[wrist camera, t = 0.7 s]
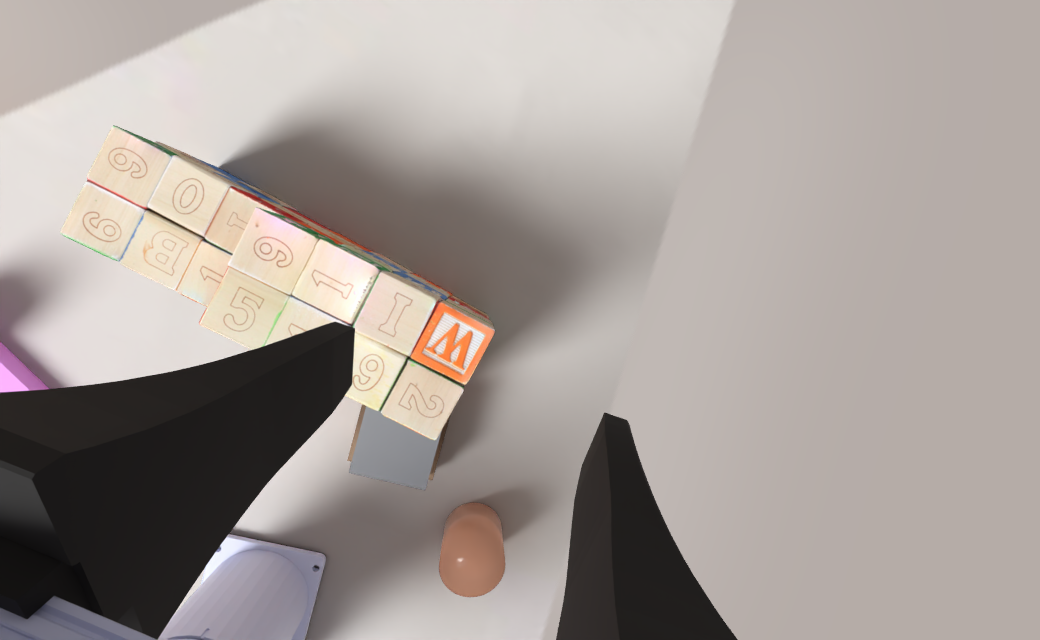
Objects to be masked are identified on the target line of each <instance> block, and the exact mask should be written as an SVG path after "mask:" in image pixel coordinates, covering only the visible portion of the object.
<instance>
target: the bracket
mask: <svg viewBox="0 0 1040 640" xmlns="http://www.w3.org/2000/svg"><path fill="white" fill-rule="evenodd" d="M46 389H49V388H48V387H47V386H46V385H45V384H44V383H43V382H42V381H41V380H40V379H39V378H38V377H37V376H36V375H35V374H33V373H32V372H31V371H30V370H29V369H28V368H27V367H26V366H25V365H24V364H23V363H22V362H21V361H20V360H19V359H18V358H17V357H16V356H15V355H14V354H13V353H12V352H11V351H10V350H8V349H7V348H6V347H5V346H4V345H3V344H2V343H1V342H0V392H14V391H30V390H46Z"/></svg>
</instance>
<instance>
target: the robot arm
mask: <svg viewBox="0 0 1040 640" xmlns="http://www.w3.org/2000/svg"><path fill="white" fill-rule="evenodd" d="M354 340H355V328H353V327H350V326H347V325H344V324H341V323H338V322H332V323H328V324H325V325H322V326H319V327H316V328H314V329H311V330H308V331H305V332H303V333H300V334H297V335H294V336H291V337H289V338H286V339H283V340H280V341H277V342H274V343H272V344H269V345H266V346H263V347H260V348H257V349H254V350H250V351H247V352H244V353H241V354H237V355H234V356H231V357H228V358H225V359H221V360H218V361H214V362H210V363H207V364H203V365H199V366H194V367H190V368H186V369H182V370H177V371H173V372H168V373H163V374H157V375H151V376H146V377H140V378H134V379H129V380H123V381H117V382H109V383H102V384H94V385H86V386H77V387H67V388H57V389H46V390H30V391H14V392H0V640H305V638H306V634H307V630H308V627H309V623H310V619H311V615H312V611H313V608H314V604H315V600H316V596H317V592H318V589H319V585H320V581H321V577H322V573H323V570H324V566H325V562H326V557H325V555H324V554H322V553H318V552H313V551H308V550H304V549H299V548H294V547H289V546H284V545H279V544H275V543H270V542H265V541H260V540H255V539H250V538H246V537H241V536H236V535H231V534H229V533H230V532H231V530H232V529H233V527H234V526H235V525H236V523H237V522H238V521H239V519H240V518H241V516H242V515H243V514H244V513H245V511H246V510H247V509H248V507H249V506H250V505H251V503H252V502H253V501H254V500H255V498H256V497H257V496H258V494H259V493H260V492H261V490H262V489H263V488H264V487H265V485H266V484H267V483H268V482H269V481H270V480H271V478H272V477H273V476H274V475H275V474H276V473H277V472H278V471H279V470H280V468H281V467H282V466H283V465H284V464H285V463H286V462H287V461H288V460H289V459H290V458H291V457H292V456H293V455H294V454H295V453H296V451H297V450H298V449H299V448H300V447H301V446H302V445H303V444H304V443H305V442H306V441H307V440H308V439H309V438H310V437H311V436H312V434H313V433H314V432H315V431H316V430H317V429H318V428H319V427H320V426H321V425H322V424H323V423H324V421H325V420H326V419H327V418H328V417H329V416H330V415H331V414H332V413H333V411H334V410H335V408H336V407H337V406H338V404H339V403H340V402H341V400H342V399H343V397H344V396H345V394H346V393H347V392H348V390H349V389H350V387H351V386H352V378H353V359H354ZM219 547H221V549H219ZM314 565H317V566H319V569H316V568H315V567H314ZM204 568H205V571H204V575H203V579H202V583H201V585H200V587H199V588H198V589H197V590H196V591H195V592H194V593H193V594H192V595H191V596H190V597H189V599H188V600H187V601H186V602H185V603H184V604H183V605H182V606H181V607H180V608H179V609H178V607H179V606H180V604H181V602H182V601H183V599H184V598H185V596H186V595H187V593H188V592H189V590H190V589H191V587H192V586H193V584H194V583H195V581H196V580H197V578H198V577H199V576H200V574H201V573H202V571H203V570H204ZM177 609H178V611H177V612H176V610H177ZM175 612H176V613H175ZM174 613H175V614H174ZM556 640H737V638H736V637H735V636H734V634H733V633H732V632H731V630H730V629H729V628H728V626H727V625H726V623H725V622H724V621H723V619H722V618H721V617H720V615H719V614H718V612H717V611H716V609H715V608H714V606H713V605H712V603H711V601H710V600H709V598H708V597H707V595H706V594H705V592H704V591H703V589H702V588H701V586H700V585H699V583H698V581H697V580H696V578H695V577H694V575H693V574H692V572H691V570H690V568H689V567H688V565H687V563H686V562H685V560H684V558H683V557H682V555H681V553H680V551H679V549H678V547H677V545H676V543H675V541H674V540H673V538H672V536H671V534H670V532H669V530H668V528H667V525H666V523H665V521H664V519H663V517H662V515H661V512H660V510H659V508H658V506H657V504H656V501H655V499H654V496H653V494H652V491H651V489H650V486H649V484H648V481H647V478H646V476H645V473H644V471H643V468H642V465H641V462H640V459H639V456H638V453H637V450H636V446H635V444H634V440H633V437H632V433H631V429H630V425H629V423H628V421H627V420H625V419H622V418H619V417H616V416H613V415H610V414H607V413H604V415H603V417H602V420H601V422H600V424H599V427H598V429H597V431H596V434H595V436H594V438H593V441H592V443H591V446H590V448H589V450H588V453H587V455H586V457H585V460H584V462H583V464H582V468H581V472H580V477H579V481H578V486H577V491H576V495H575V500H574V509H573V519H572V529H571V539H570V549H569V559H568V570H567V580H566V588H565V596H564V602H563V607H562V612H561V617H560V622H559V627H558V633H557V638H556Z"/></svg>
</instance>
